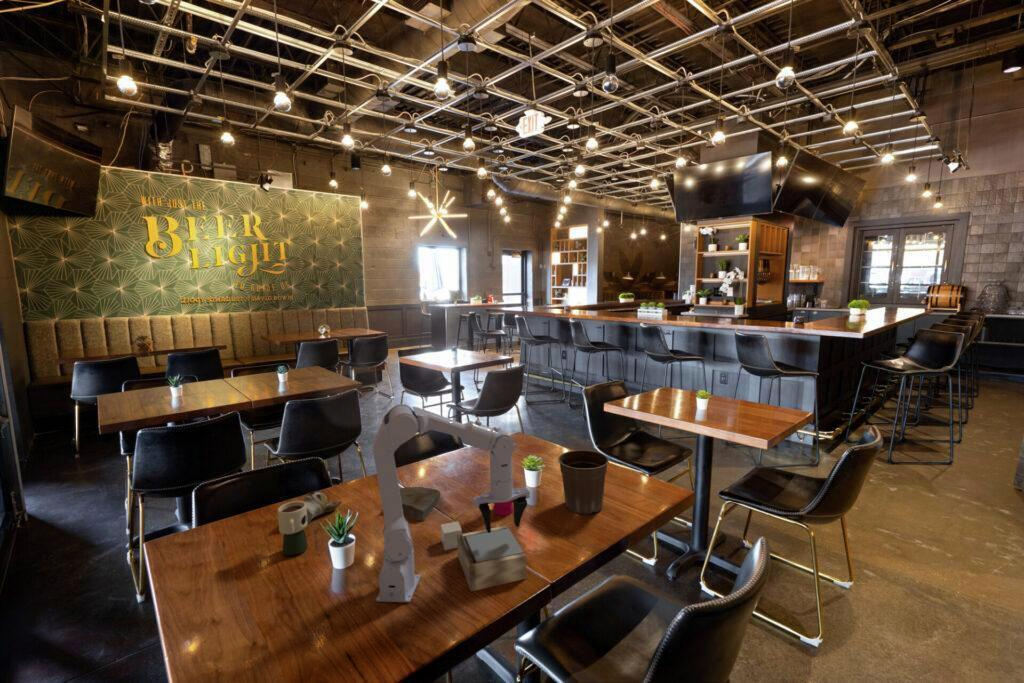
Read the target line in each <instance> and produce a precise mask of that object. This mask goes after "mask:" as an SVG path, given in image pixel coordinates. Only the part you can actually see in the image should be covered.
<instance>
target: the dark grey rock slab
mask: <svg viewBox="0 0 1024 683" xmlns="http://www.w3.org/2000/svg"><path fill="white" fill-rule="evenodd" d="M399 490H400V496H401V502H402V508H403V514H404V517H405V516H406V517H405V518H408V519H410V518H411V520H414V521H418V522H419V521H420V522H424V521H425V520H426V519H427V518H426V517H428V516H429V515H430V514H431V513H432V512H433V509H434V508H435V507H436V506H437V504H438V503H439V502H440V499H441V492H440V490H438V489H433V488H432V487H431V488H430V487H429V488H428V487H423V486H411V487H410V486H409V487H408V486H407V487H406V486H405V487H401V488H399ZM430 512H431V513H430Z"/></svg>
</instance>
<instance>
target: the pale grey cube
mask: <svg viewBox="0 0 1024 683" xmlns="http://www.w3.org/2000/svg"><path fill="white" fill-rule="evenodd" d="M440 531H441V532H440V536H441V538H440V539H441V543H442V547H443V550H444V551H447V550H452V549H458V545H457V535H460V534H463V530H462V527H461V525H460V523H459V521H458V520H457V521H453V522H448V523H447V522H446V523H443V524H440Z"/></svg>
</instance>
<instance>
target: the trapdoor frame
mask: <svg viewBox="0 0 1024 683" xmlns="http://www.w3.org/2000/svg"><path fill="white" fill-rule="evenodd" d="M508 528H509V526H508V525H503V526H502V525H501V526H497V527H491V532H492V531H497V530H502V529H508ZM482 533H487V530H486V529H482V530H477V531H476V530H475V531H471V532H465V533H462V534H460V535H457V545H458V548H457V557H458V560H459V562H460V566H461V569H462V571H463V574H464V577H465V579H466V582H467V585H468V588H469V589H470V590H469V591H470V592H474V591H480V590H485V589H487V588H492V587H497V586H500V585H505V584H508V583H513V582H518V581H521V580H525V579H526V580H527V556H526V553H522V554H518V555H513V556H508V557H504V558H499V559H494V560H490V561H485V562H481V563H475V562H474V558H473V556H472V554H471V551H470V549H469V546H468V544H467V542H466V537H467V536H472V535H477V534H482Z"/></svg>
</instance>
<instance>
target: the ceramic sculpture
mask: <svg viewBox="0 0 1024 683" xmlns="http://www.w3.org/2000/svg"><path fill="white" fill-rule="evenodd" d="M302 501H303V502H305V503H306V509H307V522H308V524H309V523H311V521H312V520H313V519H314V518H316V517H319V516H321V515H323V514H325V513H329V512H332V511H334V510H336V509H337V508H338V507H339V506H340V505H341V503H342V501H341V500H340V501H328V498H327V495H326V494H325V493H324V492H323V493H322V492H317V491H310V492H308V493H307V494H306V495H305V496H304V499H303V500H302Z"/></svg>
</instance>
